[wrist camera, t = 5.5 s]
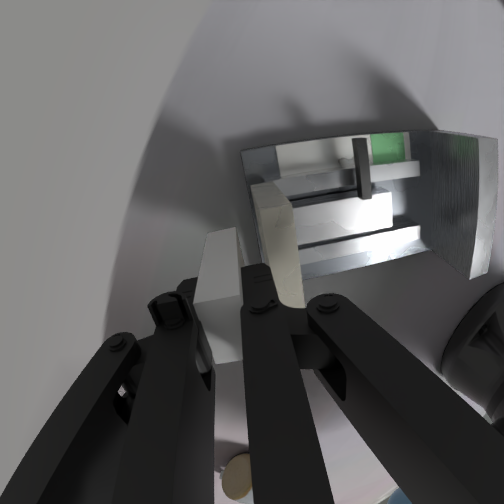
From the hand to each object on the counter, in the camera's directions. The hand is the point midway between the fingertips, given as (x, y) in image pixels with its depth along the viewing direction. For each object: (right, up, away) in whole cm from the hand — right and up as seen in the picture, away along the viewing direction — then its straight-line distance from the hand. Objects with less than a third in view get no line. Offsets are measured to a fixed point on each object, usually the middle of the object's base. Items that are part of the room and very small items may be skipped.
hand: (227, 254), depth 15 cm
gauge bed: (+9, +4, +4) cm, 10 cm away
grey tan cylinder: (+1, -29, +18) cm, 34 cm away
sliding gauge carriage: (+5, +3, +2) cm, 7 cm away
